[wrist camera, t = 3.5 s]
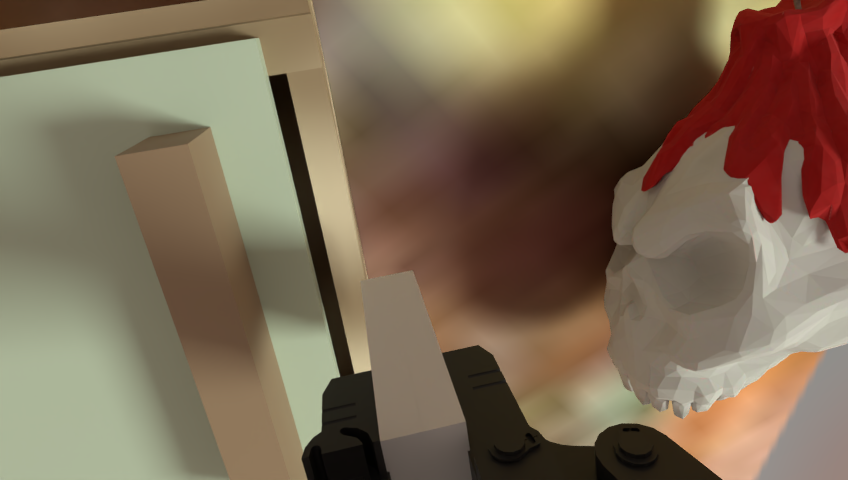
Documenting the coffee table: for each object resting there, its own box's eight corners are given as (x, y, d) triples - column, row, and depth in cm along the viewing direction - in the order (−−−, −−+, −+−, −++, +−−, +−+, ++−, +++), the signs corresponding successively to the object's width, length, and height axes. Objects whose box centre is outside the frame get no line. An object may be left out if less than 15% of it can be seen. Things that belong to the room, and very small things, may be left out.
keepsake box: (-217, 79, 18) (-482, 99, 12) (312, 0, 19) (304, -14, 13) (16, 498, 24) (-82, 642, 18) (395, 413, 26) (413, 521, 20)
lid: (-407, 139, 13) (-627, 170, 10) (259, 37, 15) (240, 38, 12) (-87, 592, 19) (-167, 698, 16) (366, 485, 21) (372, 563, 18)
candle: (572, 349, 26) (573, 5, 22) (791, 323, 27) (825, -5, 23) (690, 473, 17) (724, -64, 13) (1004, 424, 18) (1111, -74, 15)
